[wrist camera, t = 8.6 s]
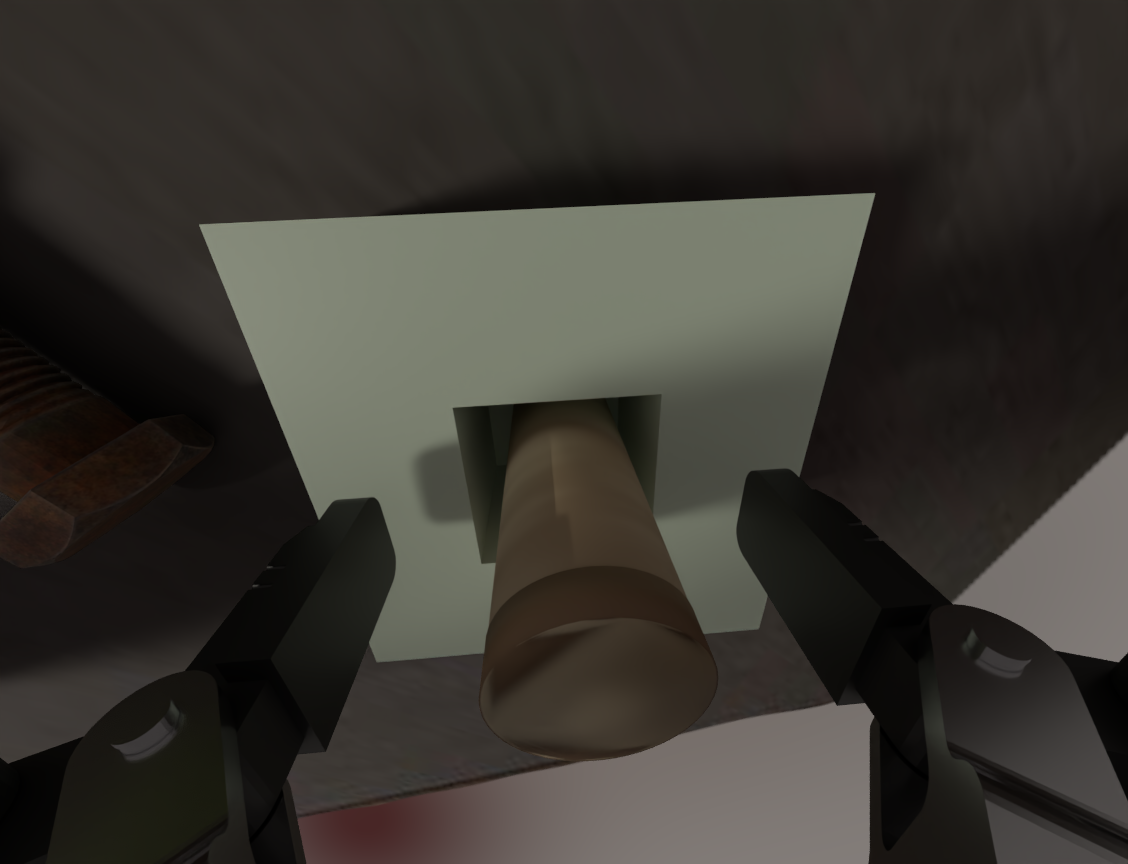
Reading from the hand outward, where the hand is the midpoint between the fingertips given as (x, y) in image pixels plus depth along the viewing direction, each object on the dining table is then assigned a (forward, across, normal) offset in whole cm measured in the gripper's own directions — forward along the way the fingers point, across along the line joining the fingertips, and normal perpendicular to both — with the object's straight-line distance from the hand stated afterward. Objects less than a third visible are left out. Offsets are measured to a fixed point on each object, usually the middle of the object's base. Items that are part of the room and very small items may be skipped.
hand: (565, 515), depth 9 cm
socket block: (+7, 0, 0) cm, 7 cm away
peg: (+6, 0, 0) cm, 6 cm away
